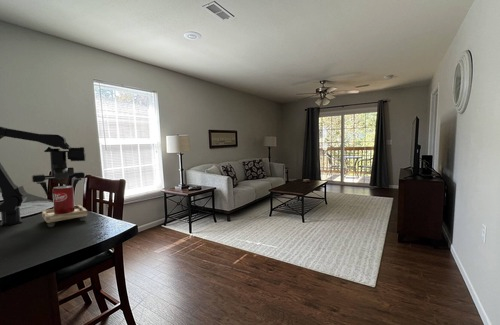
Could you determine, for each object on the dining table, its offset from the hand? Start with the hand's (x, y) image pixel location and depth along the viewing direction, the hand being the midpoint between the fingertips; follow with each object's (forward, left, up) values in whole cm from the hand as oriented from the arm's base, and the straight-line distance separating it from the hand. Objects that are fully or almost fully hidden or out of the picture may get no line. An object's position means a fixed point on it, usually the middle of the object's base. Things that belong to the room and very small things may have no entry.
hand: (60, 194), depth 109 cm
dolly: (+8, 0, -11) cm, 13 cm away
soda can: (+8, 0, -7) cm, 11 cm away
